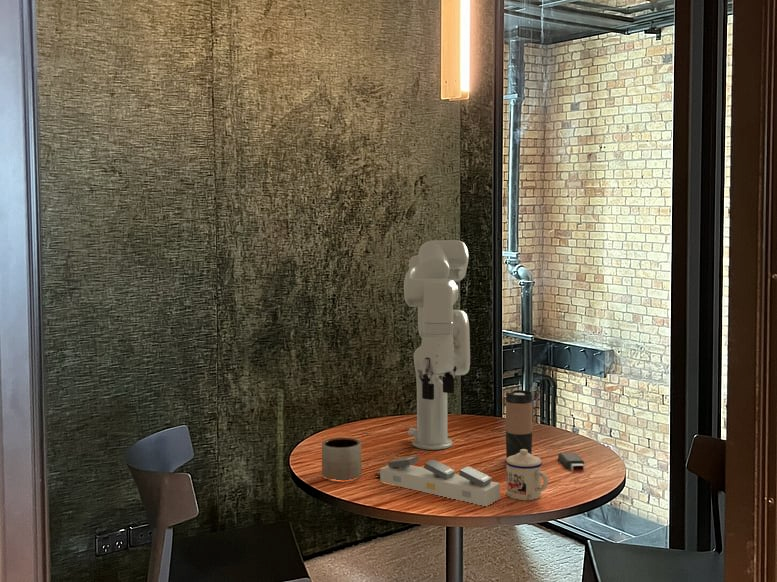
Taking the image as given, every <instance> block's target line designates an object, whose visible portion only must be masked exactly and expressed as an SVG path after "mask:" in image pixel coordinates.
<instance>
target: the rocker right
mask: <svg viewBox="0 0 777 582" xmlns="http://www.w3.org/2000/svg"><path fill="white" fill-rule="evenodd" d="M458 475H460V476H462V477H464V478H466V479H468V480H470V481H472V482H474V483H476V484H478V485H480V486H482V487H484V486H486V485H487V484H489V483H491V481H492V479H493V477H492V476H489V475H488V474H486V473H483V472H481V471H479V470H478V469H475V468H473V467H471V466H465V467H463V468H461V469H460V470H459V473H458Z"/></svg>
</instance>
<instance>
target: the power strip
mask: <svg viewBox="0 0 777 582" xmlns="http://www.w3.org/2000/svg"><path fill="white" fill-rule="evenodd" d="M379 471H380V472H375V474H374V477H375V476H378V477H380V478H379V479H380V481H382V482H386V483H390V484H394V485H397V486H401V487H405V488H409V489H413V490H418V491H422V492H426V493H431V494H435V495H439V496H438V497H440V496H443V497H442V498H444V497H447V498H446V499H449V498H451V500H453V499H456V500H455V501H458V500H460V501H459V502H462V501H465V502H464V503H466V502H469V503H468V504H471V503H473V504H472V505H475V504H477V505H476V506H480V505H482V506H481V507H484V506H486V508H487V507H488V505H489V506H490V504H491V505H492V504H494V503H495V501H496V502H497V501H499V500H501V483H500V482H496V481H492V480H491V483H489V484H487V485H486V486H484V487H482V486H480V485H478V484H476V483H474V482H472V481H470V480H468V479H466V478H464V477H462V476H460V475H459V474H458V473H455V475H454V476H452V477H450V478H448V479H444V478H442V477H440V476H438V475H436V474H435V473H433V472H431V471H429V470H427V469H425V468H424V466H423V467H421V466H416V465H414V464H411V465H407V466H398V467H390V468H389V465H388V464H387V465H386V466H383V467H380V470H379ZM380 481H379V482H380ZM409 489H408V490H409ZM413 490H412V491H413ZM418 491H417V492H418ZM422 492H421V493H422ZM426 493H425V494H426ZM431 494H430V495H431ZM435 495H434V496H435ZM498 499H499V500H498ZM493 502H494V503H493Z"/></svg>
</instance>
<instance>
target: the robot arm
mask: <svg viewBox="0 0 777 582" xmlns="http://www.w3.org/2000/svg"><path fill="white" fill-rule="evenodd" d="M468 264H469V250H468V247H467V246H466V244H465V242H463V241H461V240H458V239H454V240H453V239H452V240H450V239H449V240H448V239H447V240H443V239H440V240H439V239H437V240H436V239H435V240H428V241H425V242H424V243H422V244H421V245H420V247H419V249H418V254H417V255H413V256H411V258H410V259H409V261H408V268H409V269H408V270H407V271H406V273H405V276H404V279H403V280H404V281H403V297H404V301H405V303H406V305H407V306H408V307H412V308H417V329H418V334H419V337H420V338H421V343H420V346H418V347H417V348H416V349H415V351H414V352H413V363H414V371H415V378H416V380H415V381H416V428H414V427H410V428H408V432H407V435H408V436H411V437H412V436H413V438H414V439H413V440H411V441H412V443H411V444H412V446H413V447H415V448H417V449H421V450H430V451H432V450H434V451H435V450H437V451H438V450H443V449H448V448H451V447H452V446H453V440H452V439H451V438H449V437H448V394H454V393H455V378H456V376H464V375H466V374H468V373H469V371H470V369H471V368H470V366H471V343H470V342H471V341H470V340H471V339H470V337H471V336H470V334H471V333H470V322H469V317H468V314H467V313H466V312H465V311H464V310H462V309H461V310H460V309H454V305H455V304H456V302H457V301H458V299H459V286H458V285H457V284H456V282H459V281H462V280H463V279H464V278H465V277H466V273H467V268H468ZM440 376H441V377H442V379H440Z"/></svg>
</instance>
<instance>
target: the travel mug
mask: <svg viewBox="0 0 777 582" xmlns="http://www.w3.org/2000/svg"><path fill="white" fill-rule="evenodd" d="M505 393H506V394H505V451H506V452H505V453H506V459H507V458H508V457H509V456H512V455H515V454H517V453H520V450H521V449H526V450H528V453H529V454H531V455H533V454H532V453H533V452H532V451H533V447H532V446H533V393H532V392H531V391H528V390H520V389H519V390H518V389H517V390H516V389H515V390H513V391H512V392H508V391H506V392H505Z"/></svg>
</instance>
